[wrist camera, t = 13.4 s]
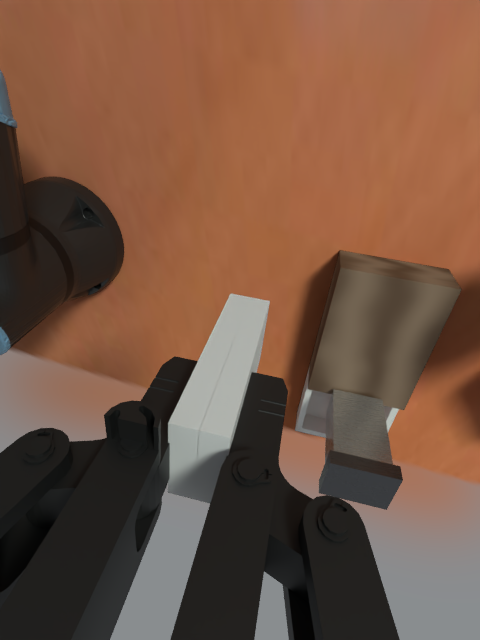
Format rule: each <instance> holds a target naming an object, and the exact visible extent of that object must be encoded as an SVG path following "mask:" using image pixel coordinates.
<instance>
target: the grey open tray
mask: <svg viewBox="0 0 480 640" xmlns="http://www.w3.org/2000/svg"><path fill="white" fill-rule="evenodd" d="M309 366H310V365H309ZM308 379H309V369H308V373H307V377H306V381H305V384H304V388H303V392H302V396H301V399H300V403H299V407H298V411H297V417H296V426H295V431H299V432H303V433H307V434H312V435H316V436H320V437H325V438H326V411H327V408H328V404H329V401H330V398H331V395H332V394H328V393H323V392H319V391H314V390H309V389H308ZM398 410H399V409H397V408H392V407H388V406H384V412H385V418H386V425H387V431H389V429H390V427H391V425H392V422H393V420H394V418H395V416H396V414H397V412H398Z"/></svg>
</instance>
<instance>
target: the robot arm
mask: <svg viewBox="0 0 480 640" xmlns="http://www.w3.org/2000/svg"><path fill="white" fill-rule="evenodd" d="M16 128H17V123H16V121H15V120H14V119H13V115H12V110H11V106H10V101H9V96H8V91H7V86H6V82H5V78H4V76H3V73H2V72H1V70H0V355H2V354H4V353H6V352H7V351H8V350H9V349H10V348H11V347H12V346H13V345H14V344H15V343H17V342H18V341H19V340H20V339H21V338H22V337H24V336H25V335H26V334H27V333H28V332H29V331H31V330H32V329H33V328H34V327H35V326H36V325H38V324H39V323H40V322H41V321H42V320H44V319H45V318H46V317H47V316H48V315H49V314H51V313H52V312H53V311H54V310H55V309H56V308H58V307H59V306H60V305H61V304H62V303H64V302H65V301H69V300H73V299H76V298H80V297H84V296H87V295H91V294H94V293H96V292H98V291H100V290H101V289H103V288H104V287H105V286H106V285H108V284H109V283H110V282H111V281H112V280H113V279H114V278H115V277H116V276H117V274H118V273H119V271H120V269H121V266H122V263H123V257H124V245H123V239H122V235H121V231H120V229H119V226H118V224H117V222H116V220H115V218H114V216H113V215H112V213H111V212H110V210H109V209H108V207H107V206H106V205H105V204H104V203H103V202H102V200H101V199H100V198H99V197H97V196H96V195H95V194H94V193H93V192H92V191H90V190H89V189H87V188H86V187H84V186H83V185H81V184H79V183H77V182H74V181H72V180H69V179H66V178H61V177H44V178H40V179H37V180H34V181H31V182H28V183H26V184H23V177H22V170H21V163H20V156H19V149H18V142H17V135H16ZM269 303H270V301H267V300H261V299H256V298H251V297H246V296H241V295H235V294H230V296H229V298H228V300H227V302H226V304H225V306H224V308H223V310H222V313H221V315H220V317H219V319H218V321H217V323H216V325H215V327H214V329H213V331H212V333H211V335H210V337H209V339H208V342H207V344H206V346H205V348H204V350H203V352H202V354H201V356H200V358H199V360H198V361H194V360H189V359H185V358H180V357H173V358H172V359H170V360H169V361H167V362H166V363H165V364H163V365H162V367H161V368H160V370H159V372H158V373H157V375H156V378H154V380H153V382H152V383H151V385H150V388H148V390H147V392H146V393H145V395H144V397H143V399H142V400H141V401H128V402H123V403H120V404H118V405H116V406H114V407H112V408H111V409H110V410H109V411H108V412H107V413H106V414H105V415H104V418H105V426H106V433H107V438H105V439H102V440H94V441H77V442H69V438H68V436H67V435H66V434H65V433H64V432H63V431H61V430H57V429H54V428H41V429H38V430H34V431H31V432H29V433H27V434H25V435H24V436H22V437H20V438H19V439H17V440H16V441H15V442H14V443H12V444H11V445H10V446H9V447H7V448H6V449H5V450H4V451H2V452H1V453H0V640H110V638H111V635H112V633H113V630H114V628H115V625H116V623H117V620H118V618H119V615H120V613H121V610H122V607H123V605H124V602H125V600H126V597H127V595H128V592H129V590H130V587H131V585H132V582H133V579H134V577H135V575H136V572H137V570H138V567H139V565H140V562H141V560H142V557H143V555H144V552H145V549H146V547H147V544H148V542H149V540H150V537H151V534H152V532H153V529H154V527H155V524H156V522H157V519H158V517H159V514H160V510H161V505H162V501H161V500H162V496H163V493H164V491H165V488H166V486H167V483H168V493H173V494H176V495H180V496H184V497H188V498H191V499H196V500H199V501H203V502H207V503H210V507H209V510H208V513H207V517H206V520H205V524H204V527H203V530H202V535H201V537H200V541H199V544H198V548H197V551H196V554H195V558H194V561H193V565H192V568H191V571H190V575H189V578H188V582H187V585H186V589H185V592H184V595H183V599H182V602H181V606H180V609H179V612H178V616H177V620H176V623H175V626H174V630H173V633H172V636H171V640H254V637H255V629H256V622H257V615H258V608H259V601H260V594H261V587H262V580H263V573H264V571H265V572H266V573H267V574H269V575H270V576H272V577H273V578H274V579H276V580H277V581H279V582H280V583H282V584H283V591H284V599H285V608H286V617H287V626H288V635H289V640H399V636H398V633H397V630H396V627H395V623H394V620H393V617H392V613H391V610H390V607H389V604H388V601H387V597H386V594H385V591H384V587H383V584H382V581H381V578H380V575H379V571H378V568H377V565H376V561H375V558H374V555H373V552H372V549H371V545H370V542H369V539H368V535H367V533H366V529H365V526H364V523H363V521H362V519H361V517H360V515H359V514H358V513H357V511H356V510H355V509H354V508H353V507H352V506H351V505H350V504H348V503H347V502H345V501H343V500H342V499H340V498H337V497H333V496H328V495H326V496H320V497H316V498H315V499H312V498H310V497H308V496H306V495H304V494H303V493H301V492H299V491H298V490H297V489H295V488H294V487H293V486H291V485H290V484H289V483H288V482H287V480H286V479H285V478H284V476H283V475H282V473H281V471H280V468H279V460H278V456H279V450H280V443H281V435H282V429H283V422H284V415H285V408H286V401H287V394H288V390H287V388H286V385H285V383H284V380H283V379H282V378H277V377H273V376H268V375H263V374H259V373H256V372H257V368H258V365H259V361H260V356H261V350H262V344H263V338H264V333H265V327H266V321H267V315H268V309H269Z"/></svg>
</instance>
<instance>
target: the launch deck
mask: <svg viewBox="0 0 480 640" xmlns="http://www.w3.org/2000/svg"><path fill="white" fill-rule="evenodd" d="M461 290H462V289H461V288H460V286H459V285H458V283H457V282H456V280H455V278H454V277H453V275H452V274H451V272H450V270H449V269H444V268H438V267H433V266H427V265H421V264H415V263H410V262H404V261H398V260H393V259H387V258H381V257H375V256H370V255H364V254H358V253H352V252H347V251H341V250H340V252H339V255H338V259H337V263H336V267H335V271H334V274H333V278H332V282H331V286H330V290H329V293H328V297H327V301H326V305H325V308H324V312H323V316H322V320H321V324H320V327H319V331H318V335H317V339H316V343H315V346H314V350H313V354H312V358H311V362H310V366H309V379H308V389H309V390H314V391H319V392H323V393H328V394H332V392H333V389H335V390H340V391H344V392H349V393H354V394H358V395H363V396H367V397H372V398H377V399H381V400H383V406H388V407H392V408H397V409H401V410H404V409H405V407H406V405H407V403H408V401H409V399H410V397H411V394H412V392H413V390H414V388H415V386H416V384H417V382H418V380H419V378H420V376H421V374H422V371H423V369H424V367H425V365H426V363H427V361H428V359H429V357H430V355H431V353H432V351H433V348H434V346H435V344H436V342H437V340H438V338H439V336H440V334H441V332H442V330H443V328H444V325H445V323H446V321H447V319H448V317H449V315H450V313H451V311H452V309H453V307H454V304H455V302H456V300H457V298H458V296H459V294H460V292H461Z"/></svg>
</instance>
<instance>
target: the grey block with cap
mask: <svg viewBox="0 0 480 640" xmlns="http://www.w3.org/2000/svg"><path fill="white" fill-rule="evenodd" d="M325 451H326V452H325V465H324V468H323V471H322V474H321V477H320V479H319V493H321V494H326V495H329V496H333V497H337V498H341V499H345V500H350V501H353V502H358V503H362V504H366V505H370V506H374V507H378V508H382V509H386V510H387V508H388V506H389V504H390V502H391V501H392V499H393V497H394V495H395V493H396V492H397V490H398V488H399V486H400V484H401V483H402V480H403V479H402V473H401V468H400V466H396V465H393V462H392V456H391V449H390V443H389V437H388V431H387V425H386V418H385V412H384V406H383V400H381V399H377V398H372V397H367V396H363V395H358V394H354V393H349V392H344V391H340V390H335V389H333V392H332V395H331V398H330V401H329V404H328V408H327V411H326V448H325Z"/></svg>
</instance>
